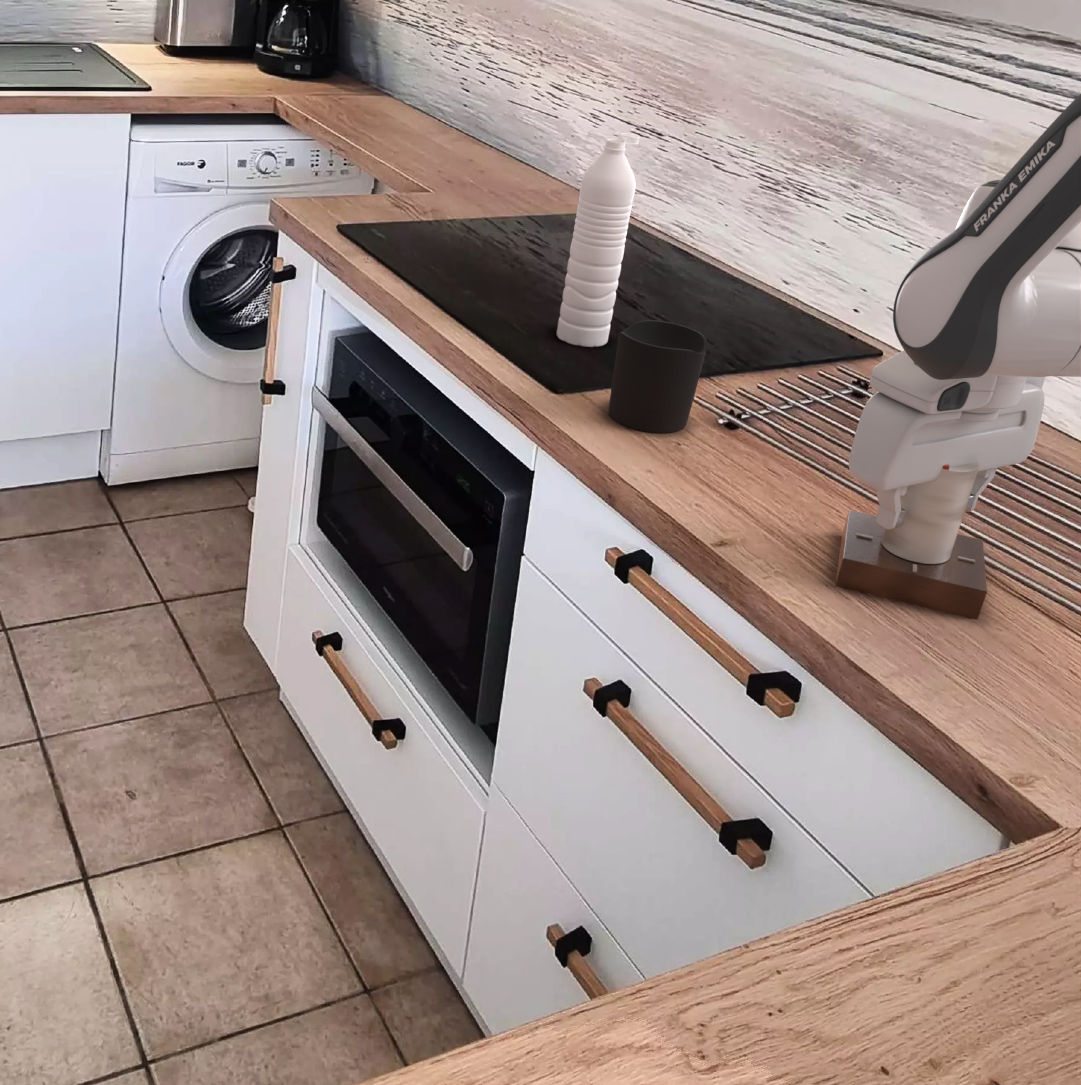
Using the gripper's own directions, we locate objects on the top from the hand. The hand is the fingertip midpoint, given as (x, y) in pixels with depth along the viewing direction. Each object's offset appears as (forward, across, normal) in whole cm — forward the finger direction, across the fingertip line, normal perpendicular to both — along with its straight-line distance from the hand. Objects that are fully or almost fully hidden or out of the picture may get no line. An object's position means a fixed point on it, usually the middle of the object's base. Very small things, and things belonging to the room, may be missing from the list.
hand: (924, 517), depth 126 cm
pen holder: (+6, -1, -38) cm, 38 cm away
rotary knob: (+3, 0, 0) cm, 3 cm away
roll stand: (+6, 0, 0) cm, 6 cm away
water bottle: (+6, -12, -62) cm, 64 cm away
